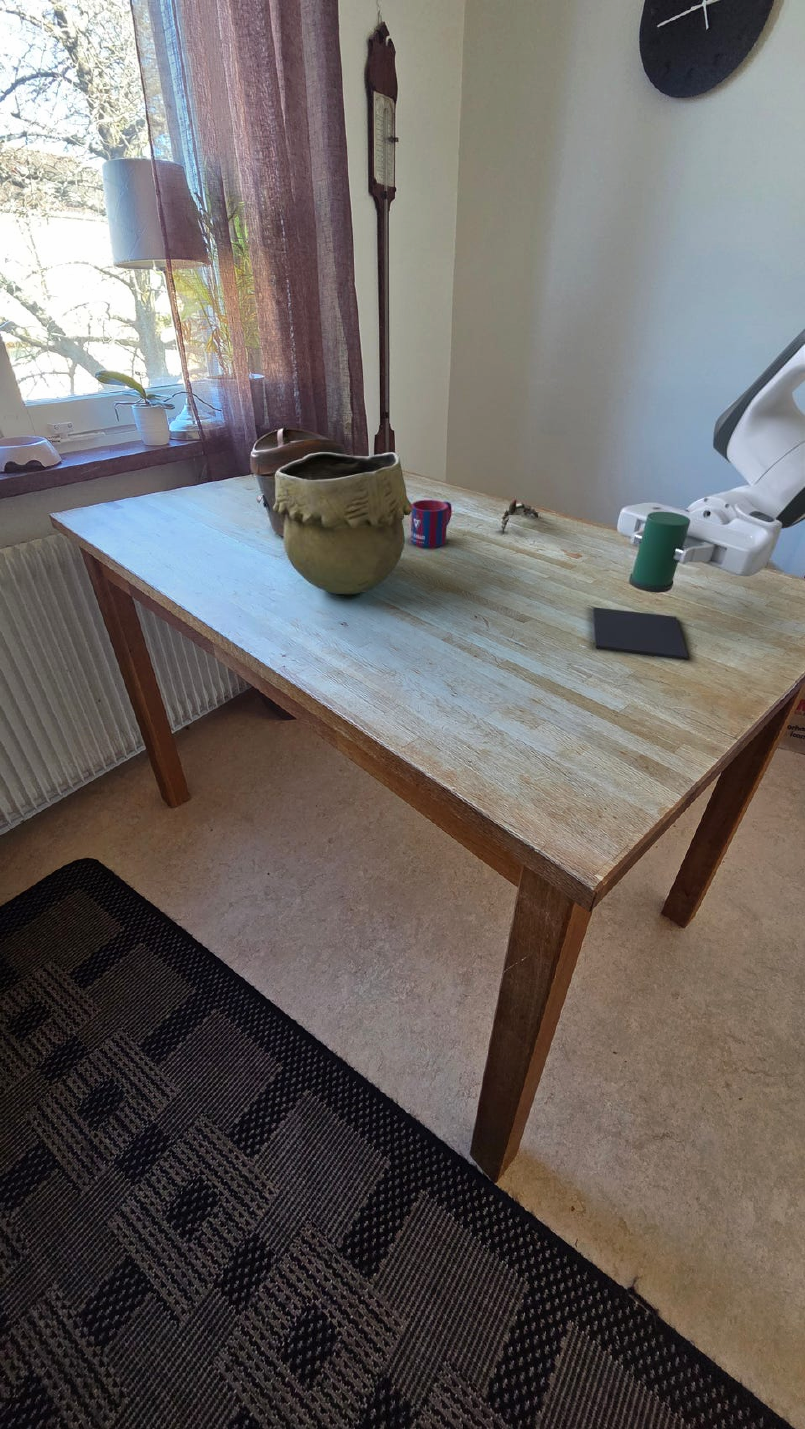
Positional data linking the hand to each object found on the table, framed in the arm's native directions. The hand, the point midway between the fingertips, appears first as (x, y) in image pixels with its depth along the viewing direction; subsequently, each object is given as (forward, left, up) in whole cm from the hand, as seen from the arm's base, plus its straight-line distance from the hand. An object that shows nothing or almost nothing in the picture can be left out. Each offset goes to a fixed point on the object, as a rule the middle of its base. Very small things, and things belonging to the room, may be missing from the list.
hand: (657, 548), depth 78 cm
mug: (+34, -30, -13) cm, 47 cm away
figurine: (+19, -43, -13) cm, 49 cm away
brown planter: (+60, -29, -13) cm, 68 cm away
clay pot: (+44, -5, -13) cm, 46 cm away
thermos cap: (-1, -1, -5) cm, 5 cm away
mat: (-1, -1, -13) cm, 13 cm away
